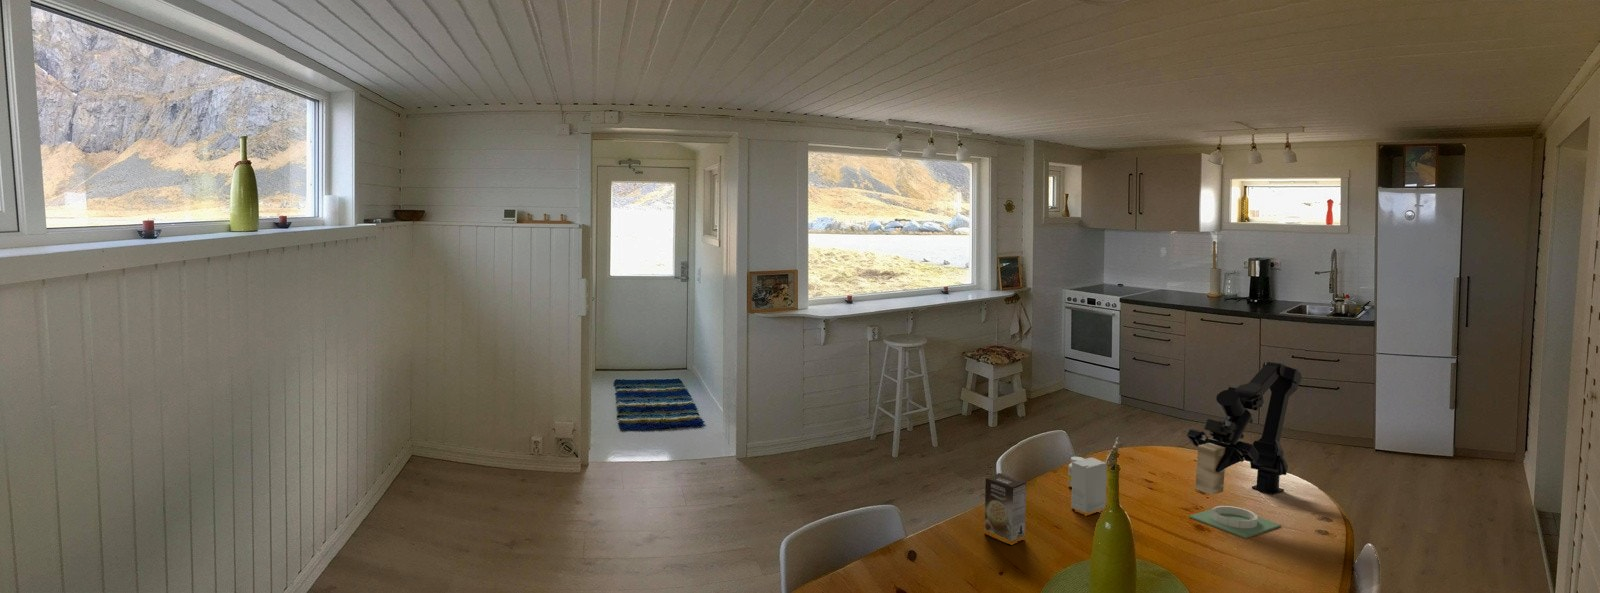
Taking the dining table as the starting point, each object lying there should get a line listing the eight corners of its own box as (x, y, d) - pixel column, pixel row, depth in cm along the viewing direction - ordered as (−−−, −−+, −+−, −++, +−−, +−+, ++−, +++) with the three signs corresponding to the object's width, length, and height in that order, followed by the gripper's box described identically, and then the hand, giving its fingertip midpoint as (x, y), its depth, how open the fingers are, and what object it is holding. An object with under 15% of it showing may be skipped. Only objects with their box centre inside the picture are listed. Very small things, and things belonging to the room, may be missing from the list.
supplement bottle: (1064, 487, 230) (1065, 458, 230) (1073, 483, 234) (1074, 454, 233) (1080, 492, 226) (1081, 462, 225) (1089, 488, 230) (1089, 458, 229)
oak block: (1206, 485, 211) (1209, 442, 210) (1223, 491, 207) (1226, 447, 205) (1195, 488, 209) (1198, 445, 207) (1211, 494, 205) (1214, 450, 203)
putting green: (1224, 506, 213) (1224, 498, 213) (1280, 526, 199) (1281, 517, 199) (1188, 517, 206) (1189, 508, 206) (1245, 538, 192) (1245, 529, 191)
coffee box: (983, 535, 196) (983, 477, 194) (997, 528, 200) (998, 472, 198) (1011, 546, 189) (1012, 486, 187) (1026, 540, 192) (1027, 481, 191)
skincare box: (1090, 505, 216) (1091, 456, 214) (1107, 512, 210) (1108, 462, 209) (1069, 510, 212) (1070, 460, 211) (1086, 517, 207) (1087, 466, 205)
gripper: (1191, 402, 216) (1165, 443, 212) (1254, 416, 199) (1227, 461, 195) (1207, 424, 220) (1182, 465, 216) (1270, 440, 203) (1244, 484, 199)
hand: (1207, 468), depth 206 cm, fingers closed on oak block, 5 cm apart
